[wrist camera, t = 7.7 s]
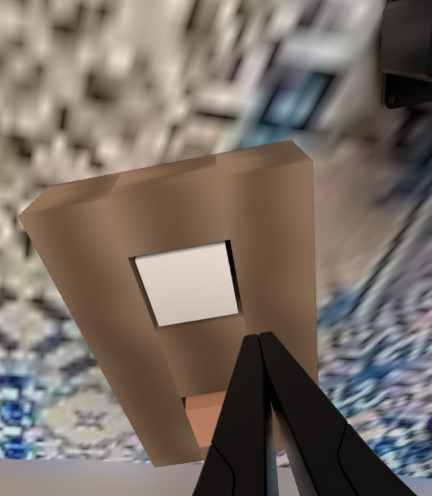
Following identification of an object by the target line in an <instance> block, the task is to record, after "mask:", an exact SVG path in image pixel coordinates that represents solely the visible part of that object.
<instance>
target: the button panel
mask: <svg viewBox="0 0 432 496" xmlns="http://www.w3.org/2000/svg"><path fill="white" fill-rule="evenodd" d="M18 217H19V219H20V221H21V223H22V224H23V226H24V228H25V230H26V232H27V234H28V236H29V237H30V239H31V241H32V243H33V245H34V247H35V248H36V250H37V252H38V254H39V256H40V258H41V259H42V261H43V263H44V265H45V267H46V269H47V270H48V272H49V274H50V276H51V278H52V280H53V281H54V283H55V285H56V287H57V289H58V291H59V293H60V294H61V296H62V298H63V300H64V302H65V304H66V305H67V307H68V309H69V311H70V313H71V315H72V316H73V318H74V320H75V322H76V324H77V326H78V327H79V329H80V331H81V333H82V335H83V337H84V339H85V340H86V342H87V344H88V346H89V348H90V350H91V351H92V353H93V355H94V357H95V359H96V361H97V362H98V364H99V366H100V368H101V370H102V372H103V373H104V375H105V377H106V379H107V381H108V383H109V385H110V386H111V388H112V390H113V392H114V394H115V396H116V397H117V399H118V401H119V403H120V405H121V407H122V408H123V410H124V412H125V414H126V416H127V418H128V419H129V421H130V423H131V425H132V427H133V429H134V431H135V432H136V434H137V436H138V438H139V440H140V442H141V443H142V445H143V447H144V449H145V451H146V453H147V454H148V456H149V458H150V460H151V462H152V464H153V465H154V467H162V466H168V465H175V464H182V463H189V462H196V461H203V460H205V459H206V455H207V452H208V449H209V446H207V447H200V448H199V445H198V443H197V440H196V437H195V435H194V432H193V429H192V427H191V424H190V422H189V419H188V416H187V414H186V411H185V408H186V397H188V396H195V395H201V394H207V393H214V392H220V391H227V388H228V385H229V382H230V378H231V375H232V372H233V369H234V365H235V362H236V359H237V356H238V352H239V349H240V346H241V343H242V340H243V337H244V336H245V335H249V334H258V335H259V333H261V332H267V331H272V332H273V333H274V334H275V335H276V336H277V337H278V339H279V340H280V341H281V342H282V343H283V345H284V346H285V347H286V348H287V349H288V351H289V352H290V353H291V354H292V355H293V357H294V358H295V359H296V360H297V361H298V363H299V364H300V365H301V366H302V367H303V369H304V370H305V371H306V372H307V373H308V375H309V376H310V377H311V378H312V379H313V381H314V382H315V383H316V384H317V385H318V359H317V320H316V280H315V241H314V202H313V163H312V160H311V159H310V158H309V157H308V156H307V155H306V154H305V153H304V152H303V151H302V150H301V149H300V148H299V147H298V146H297V145H296V144H295V143H294V142H293V141H292V140H287V141H282V142H277V143H272V144H266V145H261V146H256V147H251V148H246V149H240V150H235V151H230V152H225V153H219V154H214V155H209V156H204V157H199V158H193V159H188V160H183V161H178V162H172V163H167V164H162V165H157V166H152V167H146V168H141V169H136V170H131V171H125V172H120V173H115V174H110V175H105V176H99V177H94V178H89V179H84V180H78V181H73V182H68V183H63V184H58V185H52V186H49V187H48V188H47V189H46V190H45V191H44V192H43V193H42V194H41V195H40V196H39V197H38V198H37V199H36V200H35V201H33V202H32V203H31V204H30V205H29V206H28V207H27V208H26V209H25V210H24V211H23V212H22V213H21V214H20V215H19V216H18ZM224 240H230V242H231V247H232V253H233V258H234V264H235V270H236V275H237V277H234V278H233V283H234V289H235V296H236V302H237V309H238V313H237V314H231V315H225V316H219V317H213V318H207V319H201V320H195V321H189V322H183V323H177V324H171V325H165V326H159V325H158V322H157V319H156V316H155V314H154V311H153V308H152V306H151V303H150V300H149V297H148V295H147V292H146V289H145V286H144V284H143V281H142V278H141V276H140V273H139V270H138V267H137V265H136V262H135V260H136V256H140V255H146V254H151V253H157V252H162V251H168V250H174V249H179V248H185V247H190V246H196V245H202V244H207V243H213V242H219V241H224ZM258 337H259V336H258ZM269 395H270V394H269ZM270 400H271V399H270ZM271 406H272V404H271ZM272 413H273V424H274V437H275V450H279V449H285V447H284V444H283V441H282V438H281V435H280V432H279V428H278V425H277V422H276V419H275V416H274V412H273V408H272Z"/></svg>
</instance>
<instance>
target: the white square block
mask: <svg viewBox="0 0 432 496" xmlns="http://www.w3.org/2000/svg"><path fill="white" fill-rule="evenodd" d="M135 262H136V265H137V267H138V270H139V273H140V276H141V278H142V281H143V284H144V286H145V289H146V292H147V295H148V297H149V300H150V303H151V306H152V308H153V311H154V314H155V316H156V319H157V322H158V325H159V326H165V325H171V324H177V323H183V322H189V321H195V320H201V319H207V318H213V317H219V316H225V315H231V314H237V313H238V309H237V302H236V296H235V289H234V283H233V277H232V271H231V266H230V261H229V255H228V250H227V245H226V240H224V241H219V242H213V243H207V244H202V245H196V246H190V247H185V248H179V249H174V250H168V251H162V252H157V253H151V254H146V255H140V256H136V260H135Z"/></svg>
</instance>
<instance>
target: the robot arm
mask: <svg viewBox="0 0 432 496" xmlns="http://www.w3.org/2000/svg"><path fill="white" fill-rule="evenodd" d="M380 69H381V70H382V71H383V77H382V90H381V104H382V105H383V106H384V107H386V108H389V109H395V108H400V107H405V106H411V105H416V104H421V103H426V102H431V101H432V0H388V5H387V6H386V7H385V9H384V12H383V25H382V39H381V53H380ZM392 94H395V99H394V101H393V102H391V103H390V102H389V99H390V96H391V95H392ZM258 336H259V337H258ZM269 394H270V395H269ZM270 399H271V400H270ZM271 404H272V406H271ZM272 408H273V412H274V416H275V419H276V422H277V425H278V428H279V432H280V435H281V438H282V441H283V444H284V447H285V450H286V453H287V457H288V460H289V463H290V466H291V469H292V472H293V475H294V478H295V481H296V485H297V487H298V491H299V494H300V496H417V495H416V494H415V493H414V492H413V491H412V490H411V489H410V488H409V487H408V486H407V485H406V484H405V483H404V482H403V481H402V480H401V479H400V478H399V477H398V476H397V475H396V474H395V473H394V472H393V471H392V470H391V469H390V468H389V467H388V466H387V465H386V464H385V463H384V462H383V461H382V460H381V459H380V458H379V457H378V456H377V455H376V454H375V453H374V451H373V450H372V449H371V448H370V447H369V446H368V445H367V444H366V442H365V441H364V440H363V439H362V438H361V437H360V436H359V434H358V433H357V432H356V431H355V430H354V428H353V427H352V426H351V425H350V424H348V422H347V420H346V419H345V418H344V417H343V415H342V414H341V413H340V412H339V411H338V409H337V408H336V407H335V406H334V405H333V403H332V402H331V401H330V400H329V399H328V397H327V396H326V395H325V394H324V393H323V391H322V390H321V389H320V388H319V387H318V385H317V384H316V383H315V382H314V381H313V379H312V378H311V377H310V376H309V375H308V373H307V372H306V371H305V370H304V369H303V367H302V366H301V365H300V364H299V363H298V361H297V360H296V359H295V358H294V357H293V355H292V354H291V353H290V352H289V351H288V349H287V348H286V347H285V346H284V345H283V343H282V342H281V341H280V340H279V339H278V337H277V336H276V335H275V334H274V333H273V332H272V331H267V332H261V333H259V335H258V334H249V335H245V336H244V337H243V340H242V343H241V346H240V349H239V352H238V356H237V359H236V362H235V365H234V369H233V372H232V375H231V378H230V382H229V385H228V388H227V391H226V394H225V398H224V401H223V404H222V407H221V411H220V414H219V417H218V420H217V424H216V427H215V430H214V433H213V437H212V440H211V445H210V446H209V449H208V452H207V455H206V459H205V462H204V465H203V467H202V470H201V474H200V476H199V479H198V482H197V484H196V487H195V489H194V492H193V494H192V496H279V490H278V477H277V464H276V451H275V437H274V424H273V413H272Z"/></svg>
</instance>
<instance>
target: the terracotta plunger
mask: <svg viewBox="0 0 432 496" xmlns="http://www.w3.org/2000/svg"><path fill="white" fill-rule="evenodd" d="M225 394H226V391H220V392H214V393H207V394H201V395H195V396H188V397H186V408H185V411H186V414H187V416H188V419H189V422H190V424H191V427H192V429H193V432H194V435H195V437H196V440H197V443H198V445H199V448H200V447H207V446H210V445H211V440H212V437H213V433H214V430H215V427H216V424H217V420H218V417H219V414H220V411H221V407H222V404H223V401H224V398H225Z"/></svg>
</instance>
